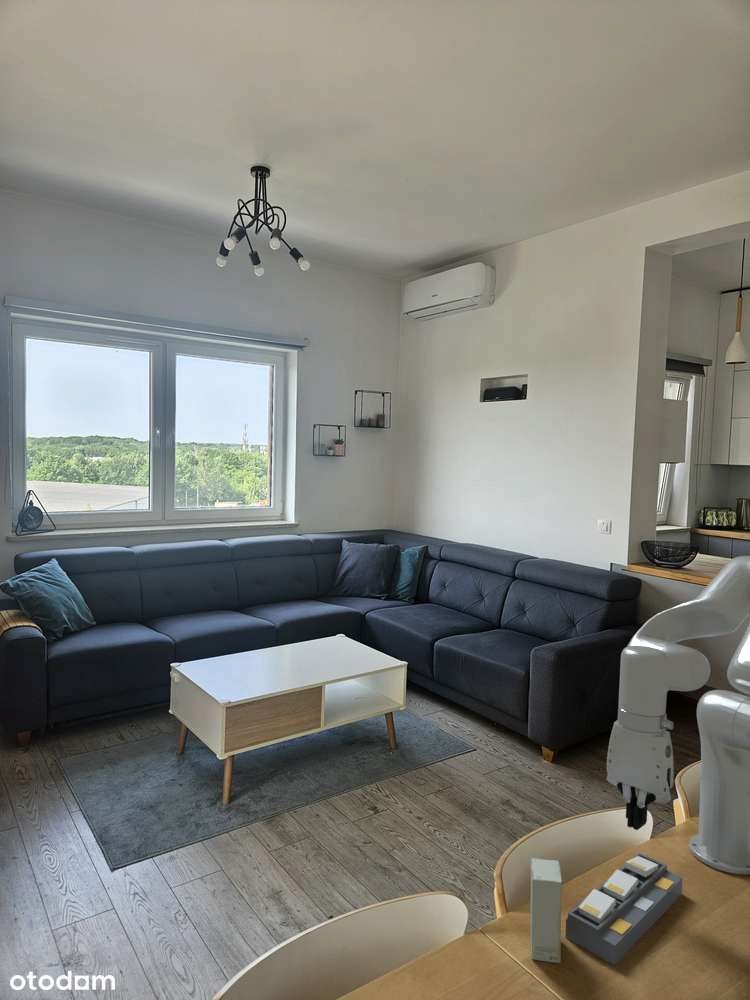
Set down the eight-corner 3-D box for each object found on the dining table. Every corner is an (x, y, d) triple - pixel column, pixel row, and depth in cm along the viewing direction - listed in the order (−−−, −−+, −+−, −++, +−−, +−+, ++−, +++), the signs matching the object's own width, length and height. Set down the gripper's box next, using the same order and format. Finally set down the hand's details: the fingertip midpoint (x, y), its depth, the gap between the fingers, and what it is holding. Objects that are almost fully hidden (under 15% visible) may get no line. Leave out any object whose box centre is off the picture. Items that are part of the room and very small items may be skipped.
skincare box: (560, 965, 96) (563, 884, 95) (530, 960, 96) (532, 879, 96) (557, 936, 102) (559, 859, 101) (528, 931, 103) (530, 855, 102)
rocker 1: (594, 894, 106) (594, 888, 105) (615, 904, 103) (615, 898, 103) (578, 912, 102) (578, 906, 102) (600, 924, 100) (600, 918, 99)
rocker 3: (637, 861, 116) (638, 855, 117) (657, 870, 114) (658, 864, 114) (625, 867, 113) (625, 861, 113) (645, 877, 110) (646, 870, 111)
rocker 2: (617, 874, 111) (617, 868, 111) (638, 884, 108) (637, 878, 108) (603, 891, 108) (603, 885, 107) (624, 901, 105) (624, 895, 105)
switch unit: (636, 873, 119) (637, 852, 119) (681, 894, 113) (682, 871, 113) (565, 937, 101) (566, 912, 101) (614, 965, 96) (615, 938, 96)
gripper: (695, 727, 109) (689, 836, 109) (610, 704, 119) (605, 803, 120) (677, 738, 103) (671, 852, 104) (589, 712, 114) (584, 815, 114)
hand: (635, 825), depth 112 cm, fingers closed
